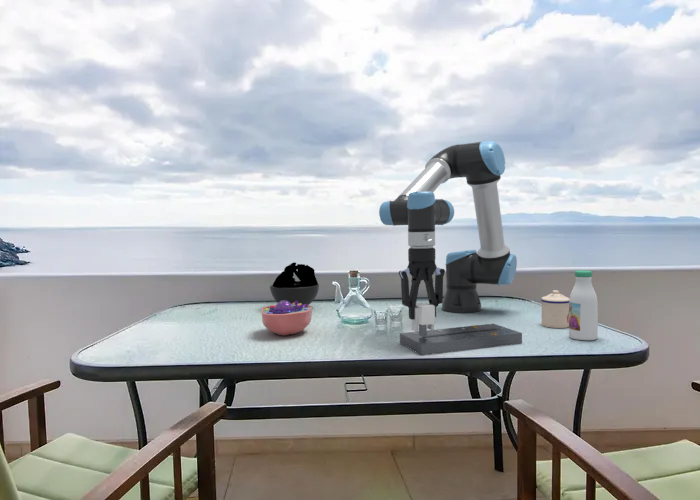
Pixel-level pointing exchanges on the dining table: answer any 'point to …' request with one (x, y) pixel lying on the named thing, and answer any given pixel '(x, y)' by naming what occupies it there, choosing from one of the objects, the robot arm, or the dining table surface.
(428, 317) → the fader knob
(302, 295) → the coal bowl
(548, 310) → the teacup with lid
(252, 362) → the dining table surface
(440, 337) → the fader console
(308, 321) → the cell model
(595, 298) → the milk bottle
